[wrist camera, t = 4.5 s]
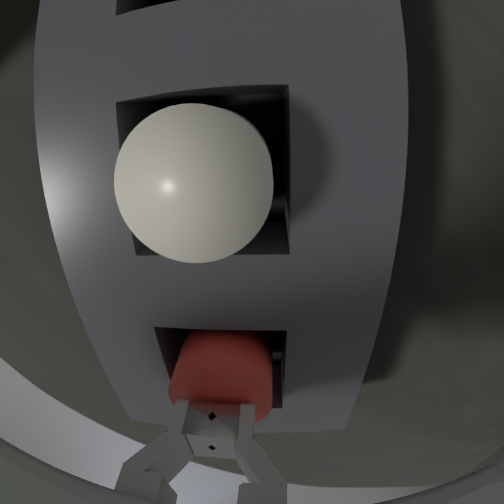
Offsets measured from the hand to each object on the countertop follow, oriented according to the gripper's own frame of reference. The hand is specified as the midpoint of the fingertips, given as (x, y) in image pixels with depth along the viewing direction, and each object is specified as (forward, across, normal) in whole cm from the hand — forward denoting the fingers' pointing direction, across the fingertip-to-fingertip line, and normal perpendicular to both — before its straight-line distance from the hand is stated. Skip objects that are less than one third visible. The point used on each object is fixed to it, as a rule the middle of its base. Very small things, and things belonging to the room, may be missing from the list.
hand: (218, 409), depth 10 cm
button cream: (+3, 0, -8) cm, 9 cm away
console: (+5, 0, -8) cm, 10 cm away
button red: (+3, 0, 0) cm, 3 cm away
